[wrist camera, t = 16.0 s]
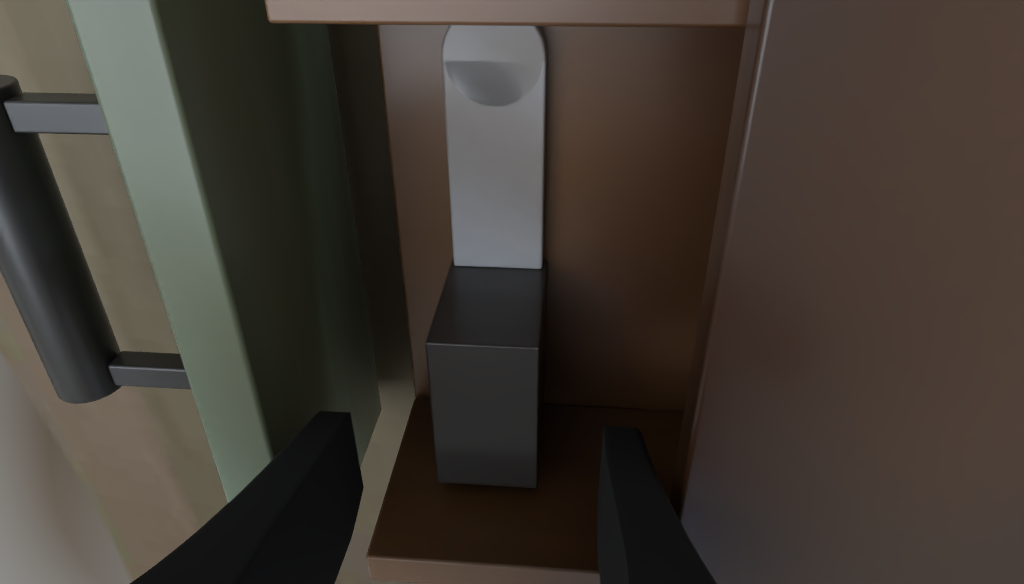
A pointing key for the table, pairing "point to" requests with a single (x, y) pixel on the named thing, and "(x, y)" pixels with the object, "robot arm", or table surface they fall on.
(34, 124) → the drawer
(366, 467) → the table surface
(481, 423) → the grey sheathed bar
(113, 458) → the table surface
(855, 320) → the cabinet
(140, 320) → the table surface
